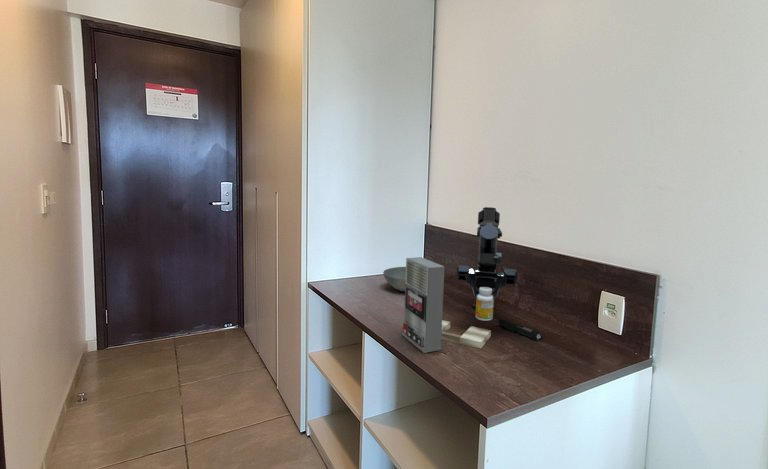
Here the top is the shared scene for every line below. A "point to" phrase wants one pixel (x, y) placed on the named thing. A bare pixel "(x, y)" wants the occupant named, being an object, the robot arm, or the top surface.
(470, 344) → the notched board
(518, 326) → the electric trimmer
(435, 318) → the cassette tape recorder
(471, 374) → the top surface
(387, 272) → the bowl
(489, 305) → the supplement bottle
